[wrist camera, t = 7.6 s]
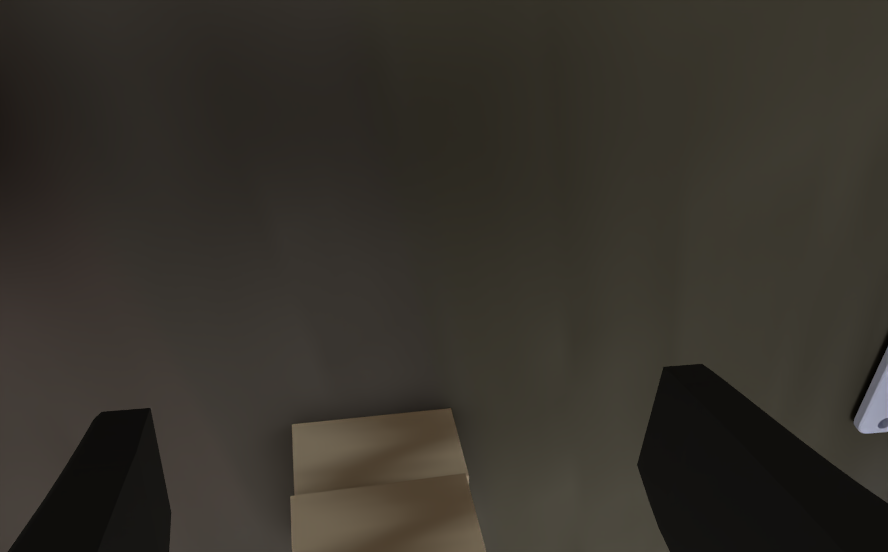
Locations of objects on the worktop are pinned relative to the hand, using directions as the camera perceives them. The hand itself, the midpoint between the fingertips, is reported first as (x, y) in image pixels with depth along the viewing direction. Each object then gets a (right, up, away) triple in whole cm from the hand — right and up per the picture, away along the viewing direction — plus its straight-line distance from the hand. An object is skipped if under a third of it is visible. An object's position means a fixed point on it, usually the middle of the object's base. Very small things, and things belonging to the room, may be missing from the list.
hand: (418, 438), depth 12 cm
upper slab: (-2, -6, +13) cm, 14 cm away
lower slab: (-2, -4, +15) cm, 16 cm away
